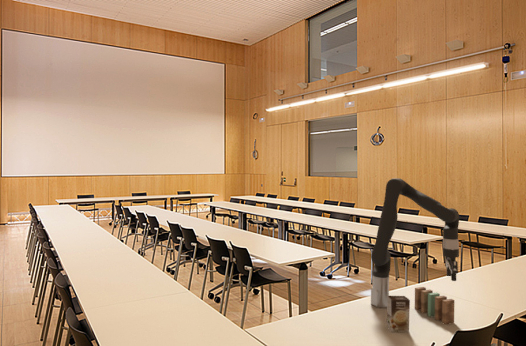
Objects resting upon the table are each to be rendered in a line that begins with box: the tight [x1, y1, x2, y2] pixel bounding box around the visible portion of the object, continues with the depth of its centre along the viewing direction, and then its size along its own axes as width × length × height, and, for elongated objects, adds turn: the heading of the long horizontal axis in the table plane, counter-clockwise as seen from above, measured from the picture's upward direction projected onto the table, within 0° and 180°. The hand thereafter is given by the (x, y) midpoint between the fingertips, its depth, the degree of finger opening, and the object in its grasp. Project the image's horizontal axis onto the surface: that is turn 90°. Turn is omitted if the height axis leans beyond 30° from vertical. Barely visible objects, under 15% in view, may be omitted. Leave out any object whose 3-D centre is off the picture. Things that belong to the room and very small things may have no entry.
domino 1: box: [414, 286, 427, 311], centre depth 211 cm, size 6×2×12 cm, turn 109°
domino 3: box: [427, 292, 441, 318], centre depth 201 cm, size 6×2×12 cm, turn 108°
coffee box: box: [386, 295, 411, 333], centre depth 184 cm, size 9×6×16 cm
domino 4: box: [434, 295, 448, 321], centre depth 197 cm, size 6×2×12 cm, turn 109°
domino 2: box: [420, 289, 434, 314], centre depth 206 cm, size 6×2×12 cm, turn 109°
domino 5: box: [441, 298, 455, 325], centre depth 192 cm, size 6×2×12 cm, turn 109°
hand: (451, 278), depth 192 cm, fingers open, 8 cm apart
